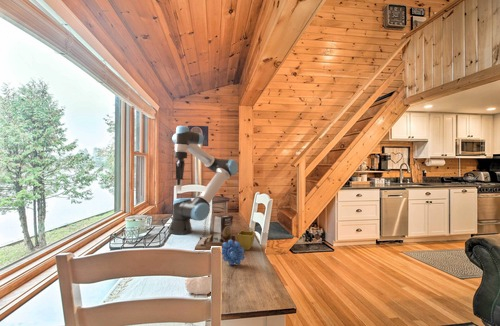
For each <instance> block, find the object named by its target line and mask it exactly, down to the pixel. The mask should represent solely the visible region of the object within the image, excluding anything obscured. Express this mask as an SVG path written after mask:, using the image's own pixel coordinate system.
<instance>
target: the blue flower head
mask: <svg viewBox="0 0 500 326" xmlns="http://www.w3.org/2000/svg"><path fill="white" fill-rule="evenodd" d="M244 253H245V250H244V248H243V247H240V243H239V242H238V240H237V241H236V242H235V243H234V241H233V240H231V239H230V240H228V243H227V242H224V243H223V248H222V253H221V255H222V260H223V261H225V262H228V264H229V265H230V266H234V265H237V266H238V265H241V263H242V261H243V260H245V257H246V256H245V255H244Z"/></svg>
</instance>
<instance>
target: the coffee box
mask: <svg viewBox="0 0 500 326" xmlns="http://www.w3.org/2000/svg"><path fill="white" fill-rule="evenodd" d="M233 219H234V215H230V214H221V215H215V216H214V223H213V234H214V236H213V242H222V243H224V242H227V243H228V240H230V239H231V237H232V235H233V222H234V220H233Z"/></svg>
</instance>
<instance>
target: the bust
mask: <svg viewBox="0 0 500 326" xmlns="http://www.w3.org/2000/svg"><path fill="white" fill-rule="evenodd" d="M185 288H186V291H187V292H188V293H190V294H194V295H195V296H196V295H208V294H210V277H201V278H185Z"/></svg>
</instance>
